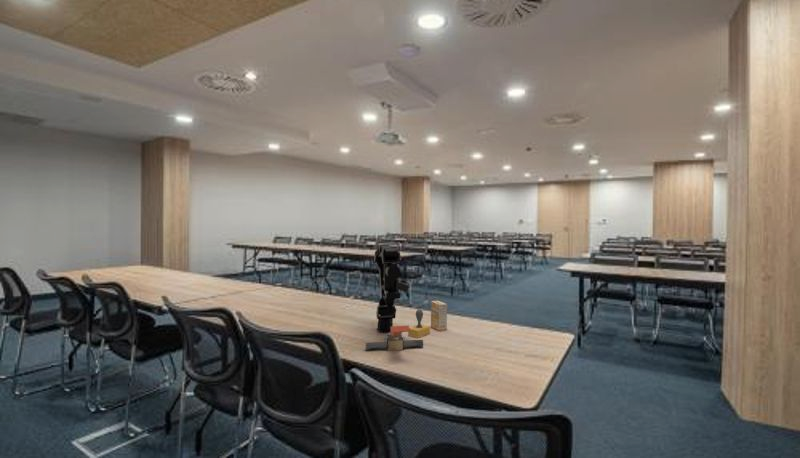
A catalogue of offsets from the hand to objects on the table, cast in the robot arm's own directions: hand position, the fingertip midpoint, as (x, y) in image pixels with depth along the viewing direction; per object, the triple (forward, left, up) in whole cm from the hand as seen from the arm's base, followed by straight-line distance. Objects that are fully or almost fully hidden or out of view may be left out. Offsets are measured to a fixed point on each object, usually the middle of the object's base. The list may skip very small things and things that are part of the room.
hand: (390, 310), depth 173 cm
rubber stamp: (-15, +1, -13) cm, 20 cm away
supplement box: (-29, -2, -13) cm, 32 cm away
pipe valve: (+5, +11, -13) cm, 18 cm away
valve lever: (+5, +11, -8) cm, 14 cm away
